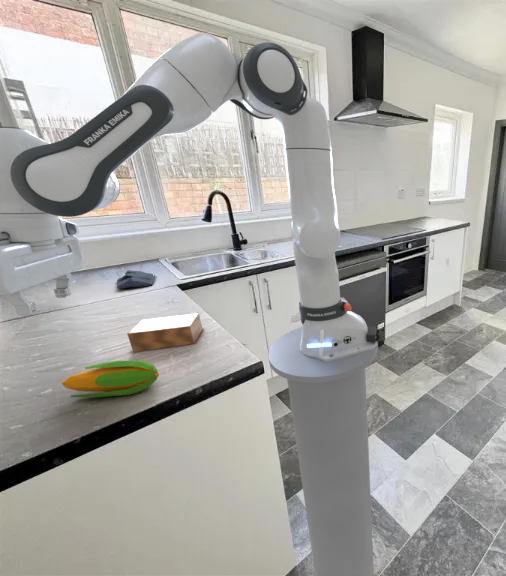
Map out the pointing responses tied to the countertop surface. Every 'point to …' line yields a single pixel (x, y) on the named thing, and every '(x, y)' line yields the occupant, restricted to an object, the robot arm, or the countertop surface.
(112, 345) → the countertop surface
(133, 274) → the dark slate chunk
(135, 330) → the block
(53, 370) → the countertop surface
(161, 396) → the countertop surface
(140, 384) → the corn
